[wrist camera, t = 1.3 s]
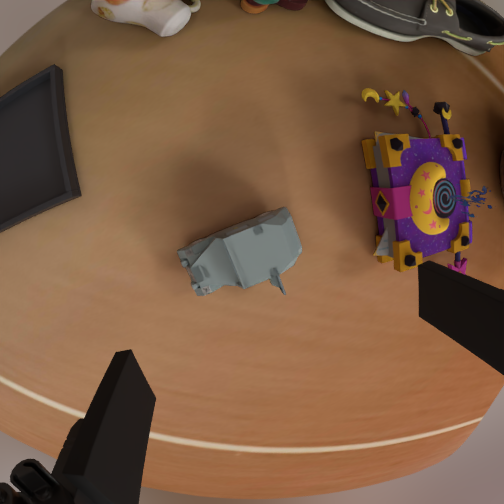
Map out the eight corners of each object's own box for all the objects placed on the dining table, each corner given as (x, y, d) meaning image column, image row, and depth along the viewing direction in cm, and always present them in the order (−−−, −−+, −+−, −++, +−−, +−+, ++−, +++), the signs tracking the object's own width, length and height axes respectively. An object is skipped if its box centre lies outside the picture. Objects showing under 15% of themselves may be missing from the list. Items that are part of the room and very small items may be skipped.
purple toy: (437, 96, 26) (510, 77, 14) (455, 286, 32) (520, 318, 20) (338, 92, 25) (410, 48, 13) (370, 320, 31) (434, 377, 19)
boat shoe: (305, -20, 21) (331, -63, 13) (454, -1, 23) (486, -18, 14) (346, 55, 24) (388, 21, 16) (484, 57, 26) (521, 47, 17)
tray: (-30, 130, 19) (-40, 128, 17) (62, 69, 20) (54, 63, 18) (-14, 240, 23) (-24, 243, 21) (81, 195, 24) (72, 196, 22)
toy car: (179, 246, 26) (172, 260, 22) (280, 205, 27) (295, 210, 22) (207, 306, 28) (206, 330, 23) (302, 267, 28) (319, 283, 24)
